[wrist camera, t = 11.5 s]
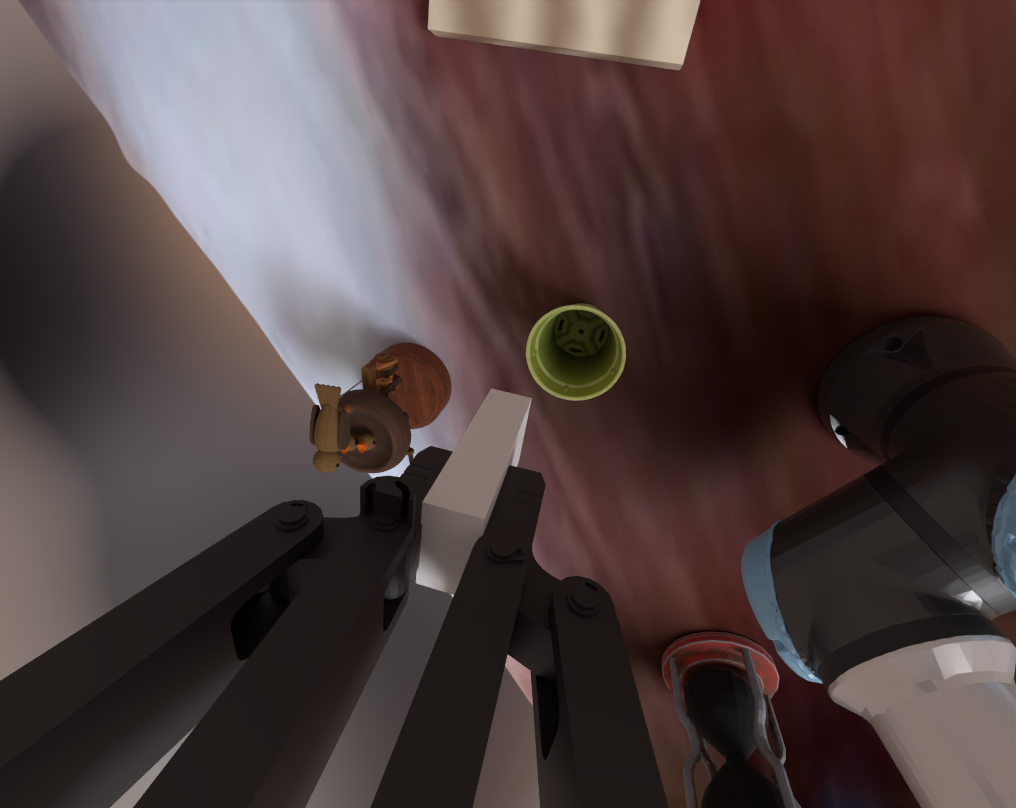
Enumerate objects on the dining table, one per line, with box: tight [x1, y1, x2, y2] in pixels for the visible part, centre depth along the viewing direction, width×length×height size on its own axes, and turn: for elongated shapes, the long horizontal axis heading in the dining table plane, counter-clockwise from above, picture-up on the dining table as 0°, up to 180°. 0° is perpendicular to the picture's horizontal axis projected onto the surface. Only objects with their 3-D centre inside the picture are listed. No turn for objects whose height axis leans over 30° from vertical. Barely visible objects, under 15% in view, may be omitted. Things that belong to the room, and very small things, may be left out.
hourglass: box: [661, 631, 801, 808], centre depth 56 cm, size 16×16×25 cm
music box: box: [310, 343, 451, 473], centre depth 48 cm, size 15×11×20 cm
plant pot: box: [526, 303, 626, 401], centre depth 45 cm, size 9×9×9 cm
